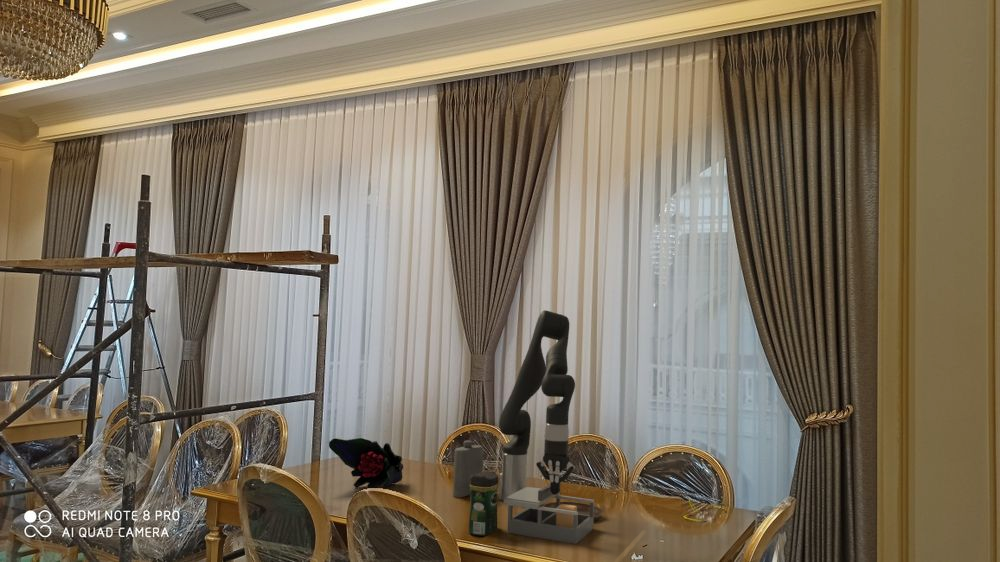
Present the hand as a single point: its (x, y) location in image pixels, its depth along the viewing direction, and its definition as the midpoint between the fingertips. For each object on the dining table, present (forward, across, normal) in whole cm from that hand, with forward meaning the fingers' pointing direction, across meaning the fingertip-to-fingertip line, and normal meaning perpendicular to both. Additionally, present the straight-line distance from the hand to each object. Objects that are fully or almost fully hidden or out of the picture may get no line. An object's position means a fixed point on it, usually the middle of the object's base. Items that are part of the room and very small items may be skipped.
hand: (555, 494), depth 217 cm
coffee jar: (+12, +20, +10) cm, 26 cm away
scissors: (+13, -38, -51) cm, 65 cm away
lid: (+3, +7, 0) cm, 8 cm away
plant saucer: (+13, +1, -22) cm, 25 cm away
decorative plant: (+12, +82, -21) cm, 85 cm away
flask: (+12, +47, -33) cm, 59 cm away
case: (+12, +1, 0) cm, 12 cm away
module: (+11, -4, 0) cm, 12 cm away
